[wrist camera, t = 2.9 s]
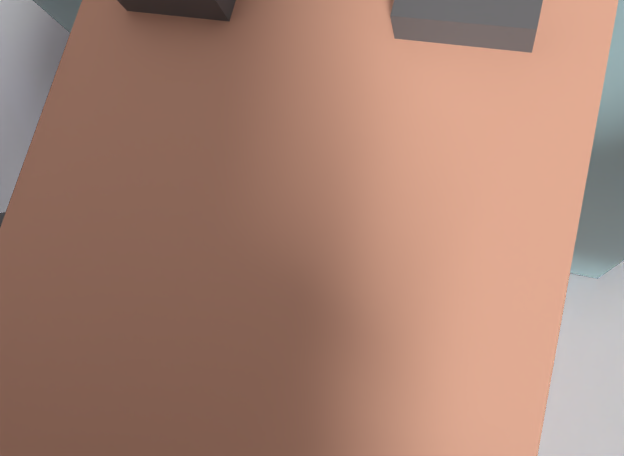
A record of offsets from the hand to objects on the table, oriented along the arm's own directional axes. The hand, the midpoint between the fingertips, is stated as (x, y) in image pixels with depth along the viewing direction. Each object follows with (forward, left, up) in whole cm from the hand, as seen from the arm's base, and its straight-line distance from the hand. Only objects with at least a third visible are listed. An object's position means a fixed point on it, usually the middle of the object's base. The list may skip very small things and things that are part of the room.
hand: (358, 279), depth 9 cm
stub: (0, -1, -8) cm, 8 cm away
